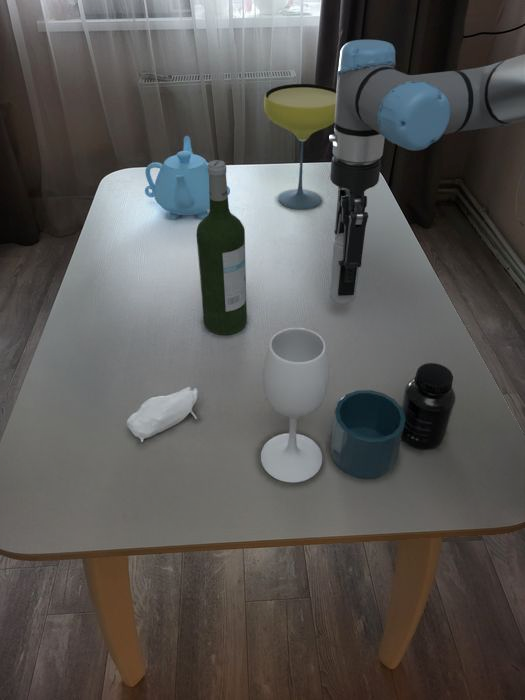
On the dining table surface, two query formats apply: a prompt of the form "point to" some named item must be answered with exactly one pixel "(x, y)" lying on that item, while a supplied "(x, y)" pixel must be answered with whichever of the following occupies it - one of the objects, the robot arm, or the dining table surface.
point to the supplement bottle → (428, 406)
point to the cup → (366, 433)
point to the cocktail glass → (301, 125)
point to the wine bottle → (222, 259)
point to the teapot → (181, 184)
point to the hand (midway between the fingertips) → (343, 285)
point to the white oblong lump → (162, 413)
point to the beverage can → (335, 273)
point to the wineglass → (294, 400)
